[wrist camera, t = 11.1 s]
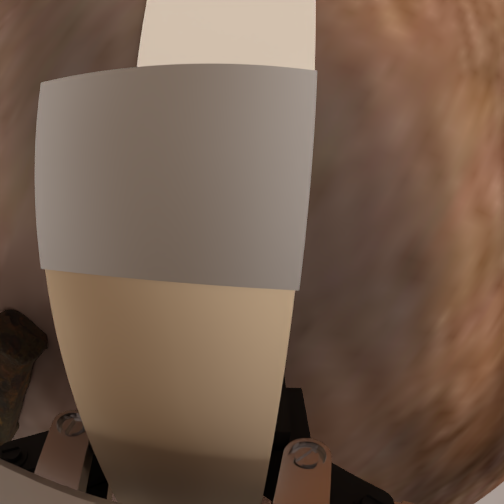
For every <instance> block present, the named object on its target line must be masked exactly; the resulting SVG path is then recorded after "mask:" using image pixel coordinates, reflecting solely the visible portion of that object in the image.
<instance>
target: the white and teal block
mask: <svg viewBox="0 0 504 504" xmlns="http://www.w3.org/2000/svg"><path fill="white" fill-rule="evenodd" d="M315 25H316V0H147V4H146V9H145V15H144V21H143V27H142V33H141V40H140V47H139V54H138V62H137V67H142V66H155V65H171V64H249V65H266V66H279V67H289V68H299V69H307V70H315Z"/></svg>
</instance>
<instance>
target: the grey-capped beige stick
mask: <svg viewBox="0 0 504 504" xmlns="http://www.w3.org/2000/svg"><path fill="white" fill-rule="evenodd" d="M316 88H317V71H315V70H307V69H299V68H289V67H279V66H266V65H249V64H171V65H155V66H142V67H132V68H122V69H114V70H106V71H99V72H93V73H87V74H81V75H75V76H70V77H65V78H60V79H55V80H50V81H46V82H42V83H41V87H40V95H39V104H38V114H37V126H36V143H35V207H36V224H37V237H38V247H39V256H40V264H41V269H45V273H46V280H47V286H48V293H49V299H50V304H51V310H52V315H53V320H54V325H55V329H56V334H57V338H58V343H59V347H60V351H61V355H62V359H63V362H64V366H65V370H66V373H67V377H68V380H69V384H70V387H71V390H72V393H73V396H74V399H75V403H76V405H77V408H78V411H79V414H80V417H81V420H82V423H83V425H84V428H85V431H86V433H87V436H88V438H89V441H90V443H91V446H92V448H93V451H94V453H95V455H96V458H97V460H98V462H99V464H100V467H101V469H102V471H103V473H104V475H105V478H106V480H107V482H108V484H109V486H110V488H111V490H112V492H113V494H114V496H115V498H116V500H117V502H118V503H121V504H261V503H262V498H263V493H264V488H265V483H266V477H267V472H268V467H269V461H270V456H271V450H272V445H273V439H274V433H275V427H276V421H277V415H278V409H279V403H280V397H281V390H282V384H283V377H284V370H285V363H286V356H287V349H288V342H289V335H290V327H291V319H292V312H293V304H294V295H295V290H299V288H300V280H301V271H302V263H303V254H304V244H305V235H306V225H307V215H308V204H309V193H310V181H311V169H312V155H313V141H314V126H315V108H316Z"/></svg>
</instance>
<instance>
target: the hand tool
mask: <svg viewBox="0 0 504 504" xmlns="http://www.w3.org/2000/svg"><path fill="white" fill-rule="evenodd" d="M47 348H48V346H47V336H46V334H45V333H44V332H43V331H41V330H40V329H39V328H38V327H37V326H36V325H35V324H34V323H33V322H32V321H31V320H29V319H28V318H27V317H26V316H24V315H23V314H21V313H19V312H18V311H14V310H5V311H3V312H2V313H0V446H1V445H3V444H4V443H6V442H9V441H11V439H12V438H13V437H14V435H15V433H16V432H17V430H18V428H19V423H18V418H19V414H20V411H21V408H22V402H23V398H24V394H25V393H26V390H27V387H28V385H29V382H30V375H31V369H32V366H33V362H34V361H35V360H36V359H37V358H38V357H39V356H40V355H41V354H42V352H43V351H44V350H45V349H47Z"/></svg>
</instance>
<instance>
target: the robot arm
mask: <svg viewBox="0 0 504 504" xmlns="http://www.w3.org/2000/svg"><path fill="white" fill-rule="evenodd" d="M331 462H332V456H331V451H330V450H329V448H328V447H327V446H326V445H325V444H324V443H322V442H320V441H318V440H316V439H311V438H310V432H309V426H308V421H307V415H306V410H305V404H304V399H303V393H302V389H301V388H286V385H285V377H283V384H282V390H281V397H280V403H279V409H278V415H277V421H276V427H275V433H274V439H273V445H272V450H271V456H270V461H269V467H268V472H267V477H266V483H265V488H264V493H263V495H264V496H265V497H267V498H268V499H270V500H271V501H272V502H271V504H415V503H411V502H407V501H402V502H401V503H399V502H395V501H393V499H392V497H391V496H390V495H389V494H388V493H386V492H385V491H383V490H381V489H379V488H377V487H375V486H373V485H372V484H370V483H368V482H366V481H364V480H362V479H360V478H358V477H356V476H354V475H353V474H351V473H349V472H347V471H345V470H344V469H342V468H340V467H338V466H337V465H335V464H333V463H331ZM112 493H113V492H112V490H111V488H110V486H109V484H108V482H107V480H106V478H105V475H104V473H103V471H102V469H101V467H100V464H99V462H98V460H97V458H96V455H95V453H94V451H93V448H92V446H91V443H90V441H89V438H88V436H87V433H86V431H85V428H84V425H83V423H82V420H81V417H80V414H79V411H78V410H68V411H64V412H62V413H60V414H58V415H57V416H56V417H55V419H54V420H53V422H52V425H51V427H50V430H49V431H46V432H42V433H39V434H35V435H32V436H28V437H24V438H20V439H16V440H13V441H9V442H6V443H4V444H3V445H1V446H0V504H121V503H118V502H114V501H112Z"/></svg>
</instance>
